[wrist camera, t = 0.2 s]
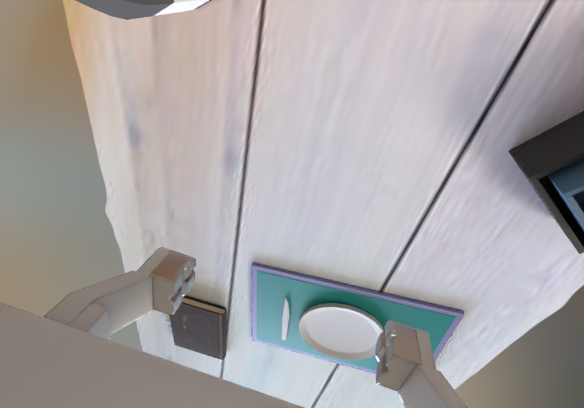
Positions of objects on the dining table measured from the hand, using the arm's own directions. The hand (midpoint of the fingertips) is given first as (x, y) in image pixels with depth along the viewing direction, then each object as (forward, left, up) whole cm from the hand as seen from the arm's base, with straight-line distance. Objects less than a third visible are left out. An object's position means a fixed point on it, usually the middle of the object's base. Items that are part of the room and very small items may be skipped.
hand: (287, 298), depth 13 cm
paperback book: (+75, -24, -39) cm, 88 cm away
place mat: (+56, +13, -39) cm, 70 cm away
